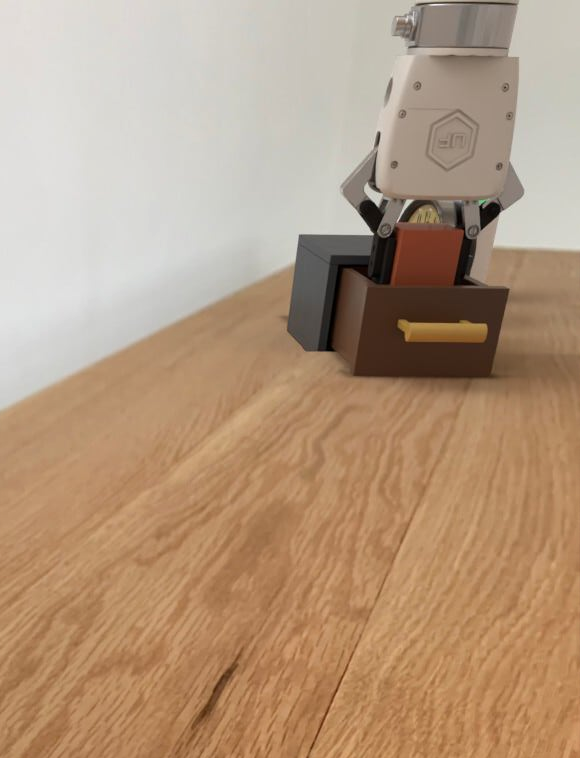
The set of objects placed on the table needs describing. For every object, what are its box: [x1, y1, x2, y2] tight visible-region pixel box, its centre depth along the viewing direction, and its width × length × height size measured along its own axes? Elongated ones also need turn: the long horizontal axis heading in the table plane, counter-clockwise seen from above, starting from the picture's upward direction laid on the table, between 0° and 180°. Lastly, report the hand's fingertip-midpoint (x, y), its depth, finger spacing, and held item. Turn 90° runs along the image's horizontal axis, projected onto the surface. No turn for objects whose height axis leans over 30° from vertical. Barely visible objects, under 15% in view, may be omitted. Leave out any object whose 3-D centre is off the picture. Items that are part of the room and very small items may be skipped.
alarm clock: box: [398, 200, 477, 268], centre depth 117 cm, size 11×5×16 cm, turn 10°
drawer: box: [327, 265, 510, 379], centre depth 94 cm, size 17×11×7 cm, turn 179°
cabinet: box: [286, 233, 473, 353], centre depth 106 cm, size 14×13×9 cm
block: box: [390, 222, 464, 286], centre depth 93 cm, size 5×5×5 cm
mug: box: [397, 199, 501, 284], centre depth 130 cm, size 12×8×10 cm
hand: (413, 285), depth 94 cm, fingers closed on block, 5 cm apart
